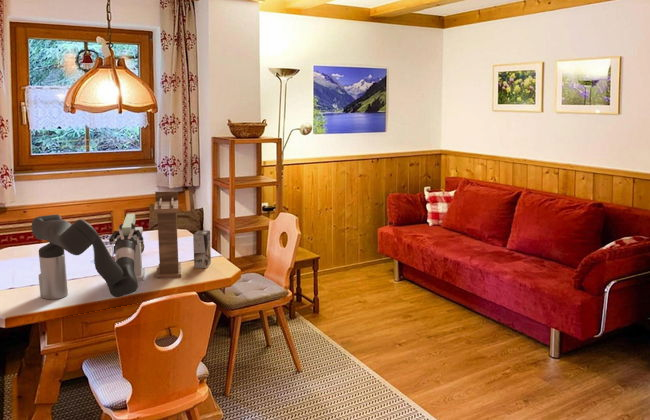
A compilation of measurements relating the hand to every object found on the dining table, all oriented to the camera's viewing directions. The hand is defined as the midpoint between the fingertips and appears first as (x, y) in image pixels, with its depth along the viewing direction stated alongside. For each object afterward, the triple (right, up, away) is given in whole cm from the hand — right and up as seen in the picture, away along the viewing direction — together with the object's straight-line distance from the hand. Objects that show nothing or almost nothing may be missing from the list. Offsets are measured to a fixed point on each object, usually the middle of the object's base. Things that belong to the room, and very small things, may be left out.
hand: (127, 225), depth 242 cm
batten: (-2, -2, +8) cm, 8 cm away
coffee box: (+24, -20, +34) cm, 46 cm away
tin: (-15, -17, +48) cm, 53 cm away
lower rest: (-3, -23, +16) cm, 28 cm away
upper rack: (+12, -22, +22) cm, 34 cm away
